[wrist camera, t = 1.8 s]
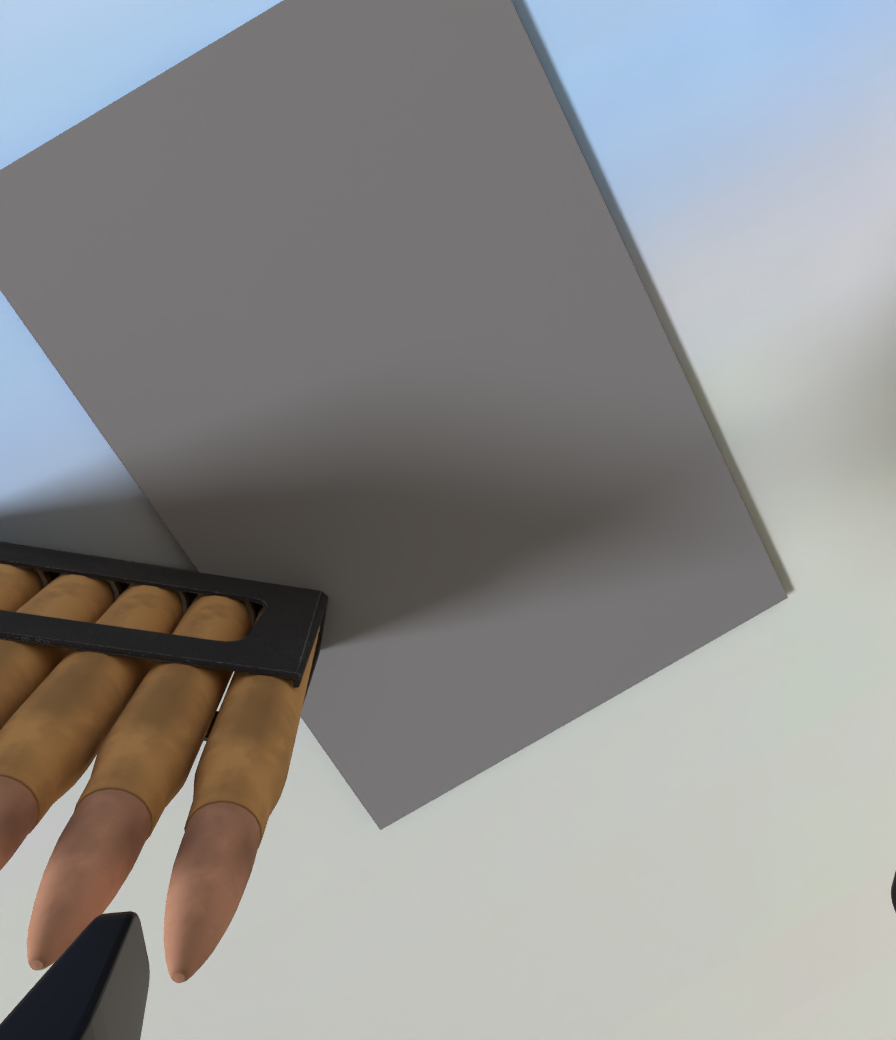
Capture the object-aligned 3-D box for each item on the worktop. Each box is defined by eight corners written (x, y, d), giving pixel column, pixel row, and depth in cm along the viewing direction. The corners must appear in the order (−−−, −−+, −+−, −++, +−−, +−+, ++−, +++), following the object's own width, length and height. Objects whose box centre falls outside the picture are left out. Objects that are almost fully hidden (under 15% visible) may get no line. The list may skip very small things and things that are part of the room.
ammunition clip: (329, 592, 21) (262, 927, 10) (319, 653, 22) (245, 1042, 10) (-86, 529, 20) (-721, 829, 9) (-87, 596, 21) (-693, 966, 9)
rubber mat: (379, 823, 24) (380, 829, 24) (-53, 207, 18) (-60, 205, 18) (782, 593, 24) (787, 597, 23) (460, -100, 18) (461, -107, 18)
